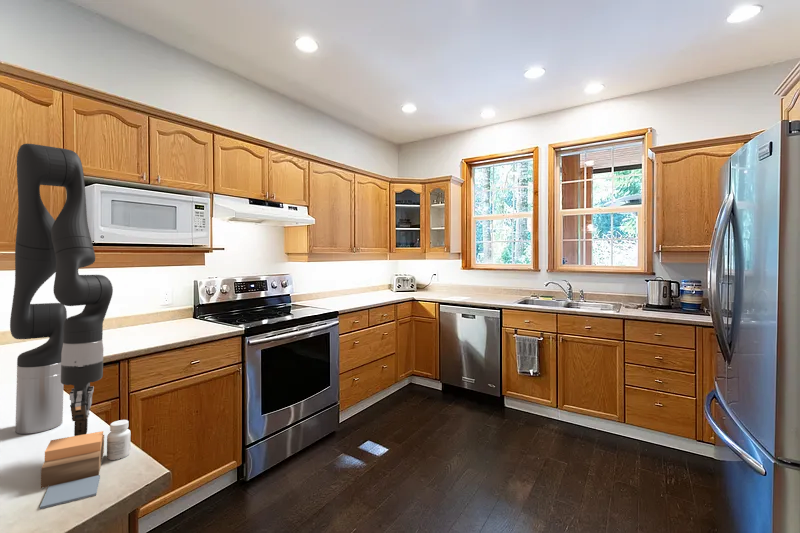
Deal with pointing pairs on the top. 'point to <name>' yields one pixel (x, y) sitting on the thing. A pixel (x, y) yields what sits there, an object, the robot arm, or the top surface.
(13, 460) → the top surface
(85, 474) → the block
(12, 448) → the top surface
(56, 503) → the mat
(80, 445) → the thin peach tile
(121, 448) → the pill bottle
